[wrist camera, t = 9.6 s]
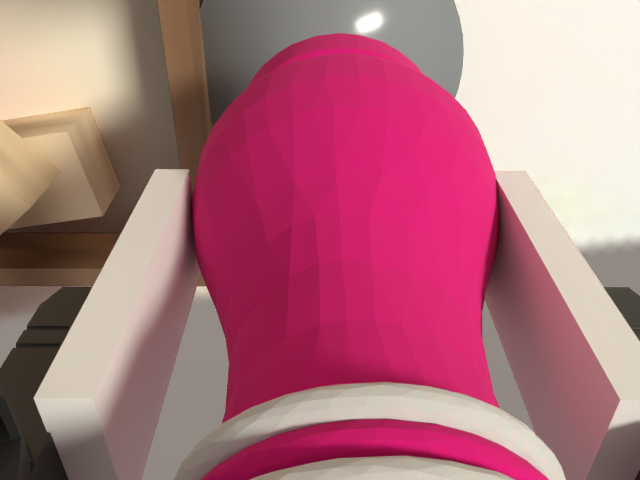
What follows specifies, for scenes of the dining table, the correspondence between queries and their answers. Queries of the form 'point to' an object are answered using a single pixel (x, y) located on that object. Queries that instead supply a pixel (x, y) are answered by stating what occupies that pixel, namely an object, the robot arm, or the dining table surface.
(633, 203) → the dining table surface
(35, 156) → the offcut upper
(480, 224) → the pepper mill
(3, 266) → the frame
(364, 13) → the coaster
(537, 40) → the dining table surface
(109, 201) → the offcut lower
